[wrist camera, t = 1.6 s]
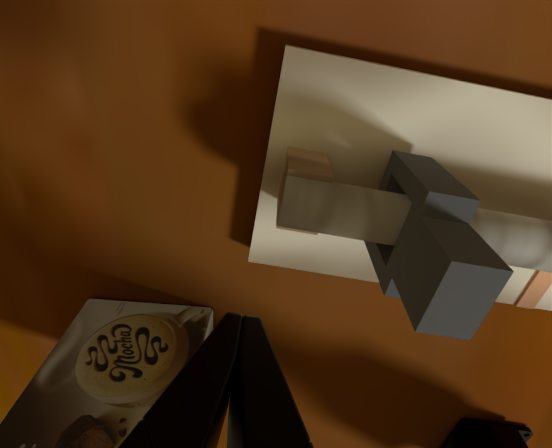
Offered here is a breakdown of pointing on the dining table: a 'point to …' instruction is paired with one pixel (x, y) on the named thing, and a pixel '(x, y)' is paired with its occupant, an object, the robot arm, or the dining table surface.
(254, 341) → the robot arm
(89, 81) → the dining table surface
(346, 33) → the dining table surface
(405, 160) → the dark angular block
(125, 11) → the dining table surface
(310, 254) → the pipe stand
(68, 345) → the coffee box
